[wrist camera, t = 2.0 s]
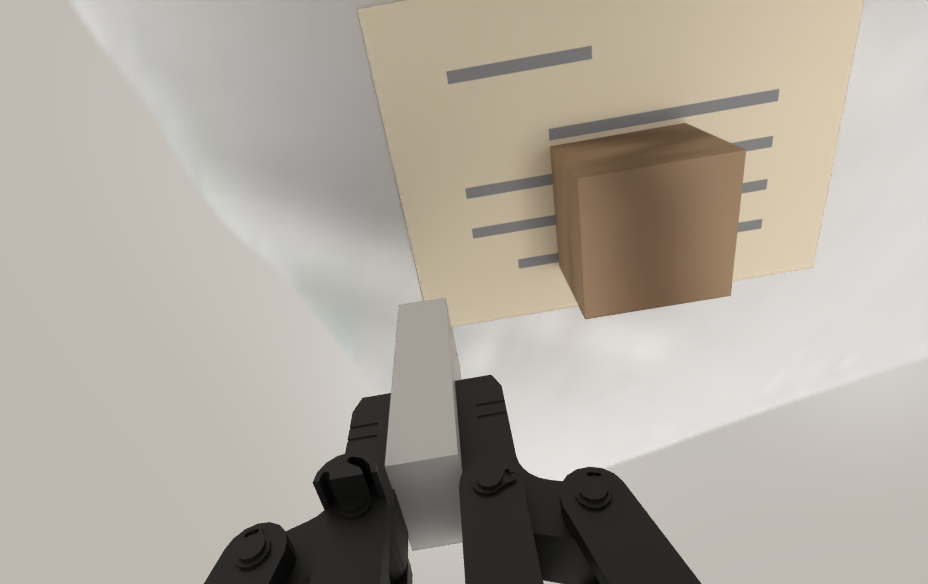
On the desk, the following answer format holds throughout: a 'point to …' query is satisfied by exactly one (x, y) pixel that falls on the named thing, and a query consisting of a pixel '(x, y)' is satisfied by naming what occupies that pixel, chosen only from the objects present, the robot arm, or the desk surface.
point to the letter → (596, 123)
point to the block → (647, 218)
